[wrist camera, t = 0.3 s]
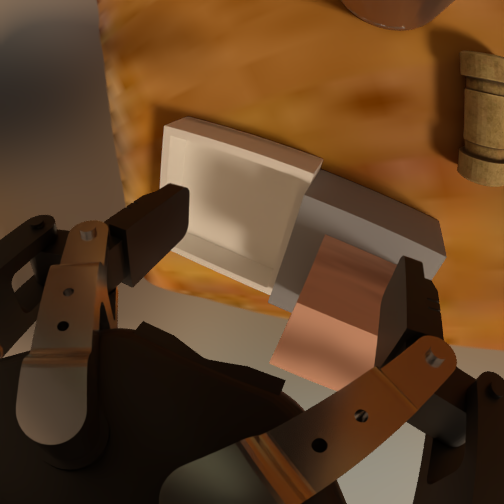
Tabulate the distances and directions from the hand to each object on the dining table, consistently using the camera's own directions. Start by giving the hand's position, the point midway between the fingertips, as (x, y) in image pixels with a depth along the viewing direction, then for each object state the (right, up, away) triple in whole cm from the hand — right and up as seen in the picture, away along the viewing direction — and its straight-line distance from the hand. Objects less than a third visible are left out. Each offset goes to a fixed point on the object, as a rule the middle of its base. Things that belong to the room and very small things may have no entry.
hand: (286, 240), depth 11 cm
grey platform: (+9, 0, +19) cm, 21 cm away
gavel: (+25, +10, +5) cm, 28 cm away
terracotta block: (+7, -3, +15) cm, 17 cm away
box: (-3, +5, +22) cm, 23 cm away
